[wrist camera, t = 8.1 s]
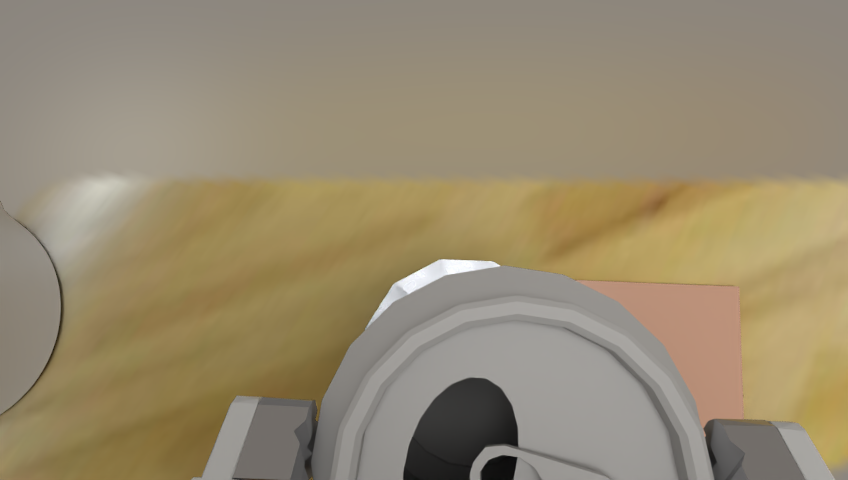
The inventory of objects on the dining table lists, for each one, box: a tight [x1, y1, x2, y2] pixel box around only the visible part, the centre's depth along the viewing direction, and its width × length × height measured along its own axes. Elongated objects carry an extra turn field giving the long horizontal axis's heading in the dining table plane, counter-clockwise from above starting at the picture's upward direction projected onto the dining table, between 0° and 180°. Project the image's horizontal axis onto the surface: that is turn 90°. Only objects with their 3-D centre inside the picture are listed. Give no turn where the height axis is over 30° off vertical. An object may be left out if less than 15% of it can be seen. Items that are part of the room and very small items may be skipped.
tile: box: [575, 280, 744, 437], centre depth 32 cm, size 10×10×1 cm
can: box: [311, 266, 714, 480], centre depth 14 cm, size 8×8×12 cm
